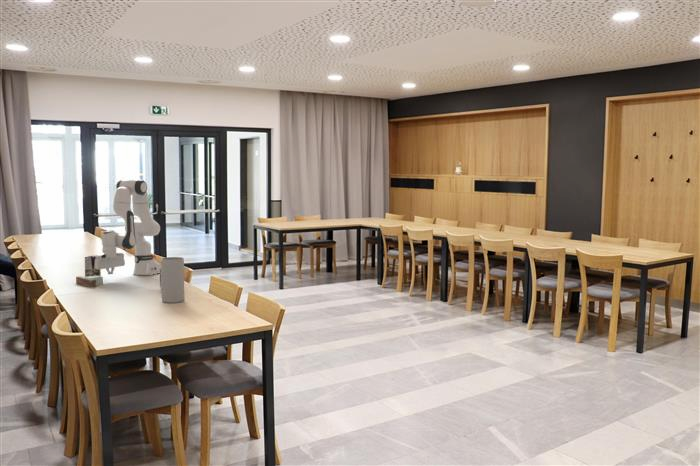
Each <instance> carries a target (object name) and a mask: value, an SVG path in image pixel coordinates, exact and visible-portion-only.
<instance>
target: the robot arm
mask: <svg viewBox="0 0 700 466" xmlns="http://www.w3.org/2000/svg"><path fill="white" fill-rule="evenodd" d="M115 186H116V187H115V188H116V190H115V193H114V198H113V205H112V208H113V212H114V213H115V214H116V215H117V216H119V217H120V218H122V219H123V220H124V222H125V227H124V231H125V234H124V233H119V232H116V231H115V230H114V229H106V230H104V231H102V234H101V245H102V251H100V252H99V253H96V254H95V255H94V256H95V257H96V259H95V269H97V270H99V269H101V270H106V272H107V275H114V270H115V268H117V267H119V268H120V267H124V266H125V265H126V262H125V254H124V253H123V252H117V248H118V249H127V250H131V249H133V248H134V268H133V275H135V276H154V275H158V274H157V273H160V266H161V263H160V262H158V261H156V260H155V259H156V258H157V256H156V254H152V245H151V243H150V242H149V241H148V240H146V238H145V237H154V236H158V235H159V234H160V231H161V226H160V225H161V224H159V223H158V222H157V221H156V220H155V219H154V218H153V216H152V214H151V210H150V203H149V196H148V192H147V190H148V185H147V182H146V181H145V180H143V179H137V178H122V179H119V180H118V181H117V182H116V185H115ZM131 204H132V205H131ZM131 206H132V207H131ZM132 210H133V211H132ZM134 216H136V217H137V218H139V219H140V220H135V217H134ZM154 258H155V259H154ZM153 274H154V275H153Z"/></svg>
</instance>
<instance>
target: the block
mask: <svg viewBox="0 0 700 466" xmlns="http://www.w3.org/2000/svg"><path fill="white" fill-rule="evenodd" d="M86 278H90V279H94V280H96V286H98V285H103V284H104V281H103V278H104V277H103V276H97V275H96V276H88V277H86Z"/></svg>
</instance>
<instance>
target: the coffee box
mask: <svg viewBox="0 0 700 466" xmlns="http://www.w3.org/2000/svg"><path fill="white" fill-rule="evenodd" d="M95 259H96V257H95V255H88V256H85V257H84V277H88V276H96V275H97V276H101V275H102V274H101V273H102V272H101V270H102V269H99V270H97V269H95ZM101 277H102V276H101Z"/></svg>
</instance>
